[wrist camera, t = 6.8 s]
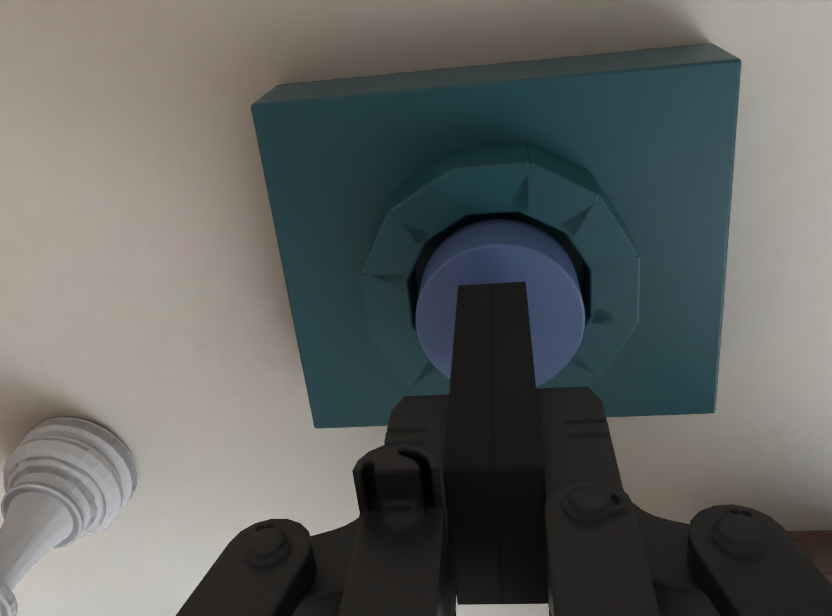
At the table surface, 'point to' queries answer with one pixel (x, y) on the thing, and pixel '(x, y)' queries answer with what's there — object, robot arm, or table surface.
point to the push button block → (509, 215)
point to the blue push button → (500, 263)
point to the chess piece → (59, 494)
